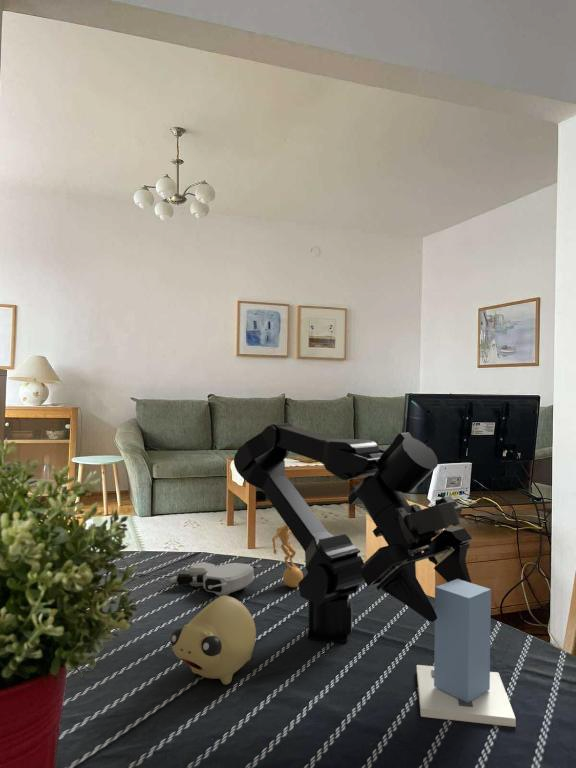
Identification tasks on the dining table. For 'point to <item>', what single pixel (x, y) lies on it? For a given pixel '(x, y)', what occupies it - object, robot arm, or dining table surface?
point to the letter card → (479, 710)
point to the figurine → (292, 572)
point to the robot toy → (217, 577)
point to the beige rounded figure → (217, 639)
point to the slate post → (462, 639)
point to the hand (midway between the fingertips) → (455, 611)
